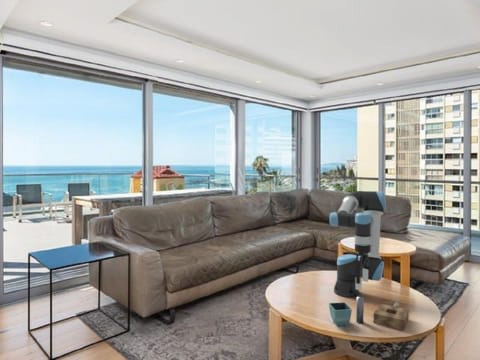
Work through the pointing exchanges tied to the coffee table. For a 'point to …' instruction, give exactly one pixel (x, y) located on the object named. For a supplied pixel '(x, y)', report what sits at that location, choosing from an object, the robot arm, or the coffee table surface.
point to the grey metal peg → (360, 309)
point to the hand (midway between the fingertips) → (361, 285)
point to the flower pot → (340, 313)
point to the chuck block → (391, 316)
